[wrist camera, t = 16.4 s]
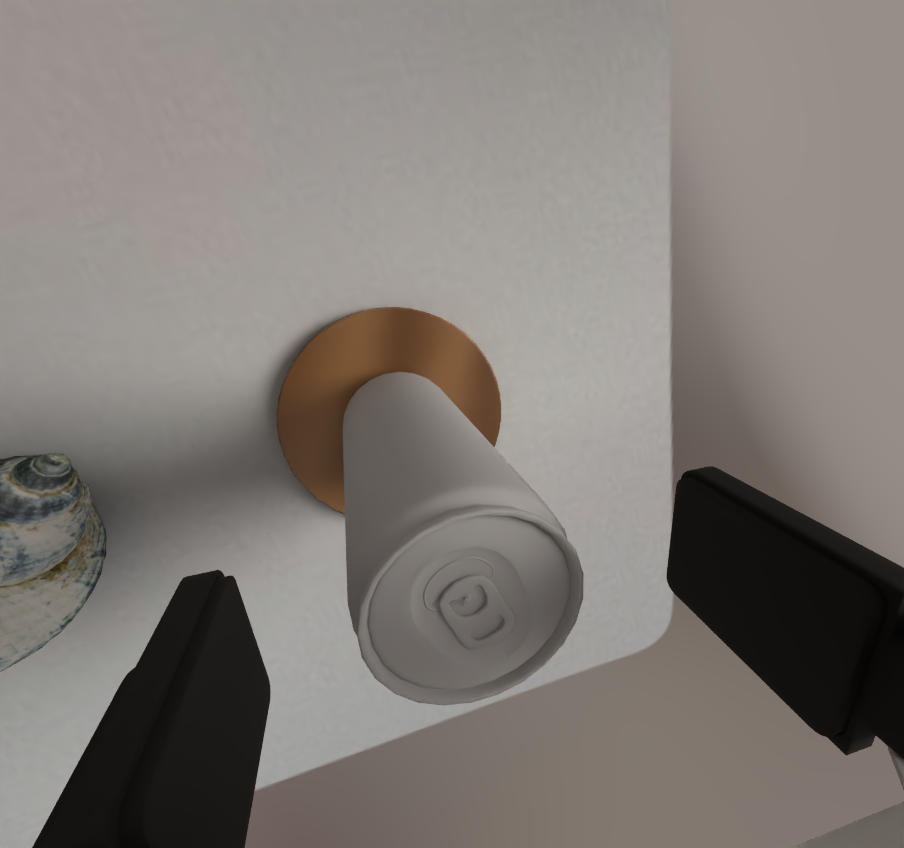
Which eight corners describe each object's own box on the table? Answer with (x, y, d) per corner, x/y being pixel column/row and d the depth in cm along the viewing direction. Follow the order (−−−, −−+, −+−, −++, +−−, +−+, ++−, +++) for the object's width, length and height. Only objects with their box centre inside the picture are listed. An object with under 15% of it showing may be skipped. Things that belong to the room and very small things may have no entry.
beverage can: (418, 347, 18) (537, 452, 7) (467, 436, 20) (620, 625, 9) (319, 405, 18) (292, 601, 7) (379, 489, 20) (429, 748, 9)
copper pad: (490, 294, 19) (495, 295, 19) (502, 492, 23) (506, 498, 22) (252, 322, 17) (249, 323, 17) (305, 534, 21) (304, 541, 20)
